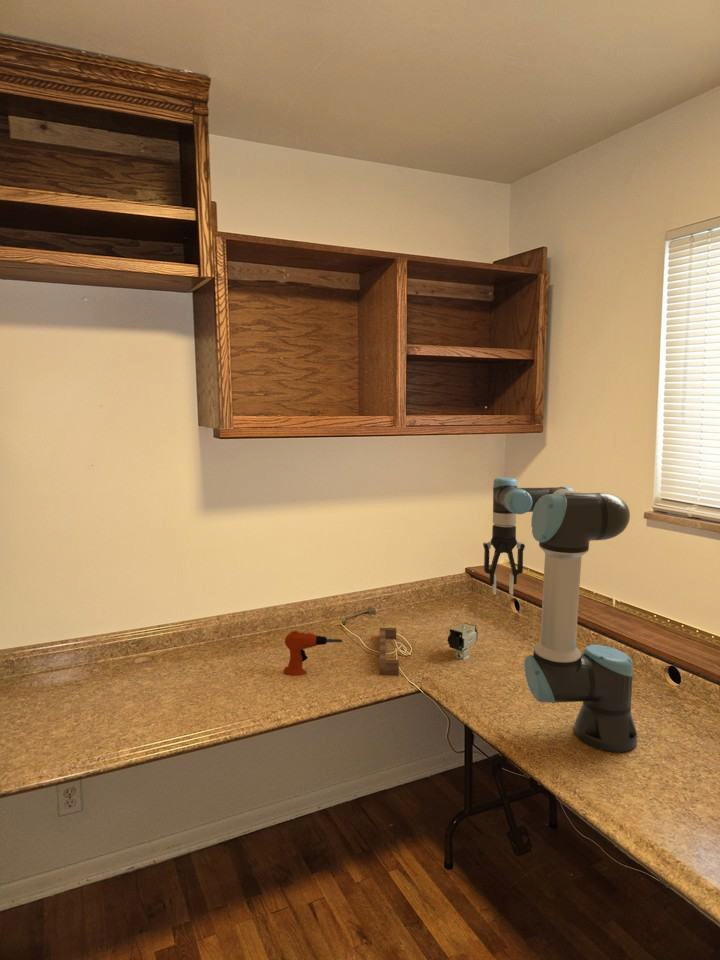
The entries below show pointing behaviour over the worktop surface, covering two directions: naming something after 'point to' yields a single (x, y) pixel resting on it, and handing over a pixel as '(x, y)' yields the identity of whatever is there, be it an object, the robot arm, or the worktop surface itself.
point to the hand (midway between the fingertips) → (502, 593)
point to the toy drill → (301, 650)
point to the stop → (385, 665)
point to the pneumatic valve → (462, 639)
